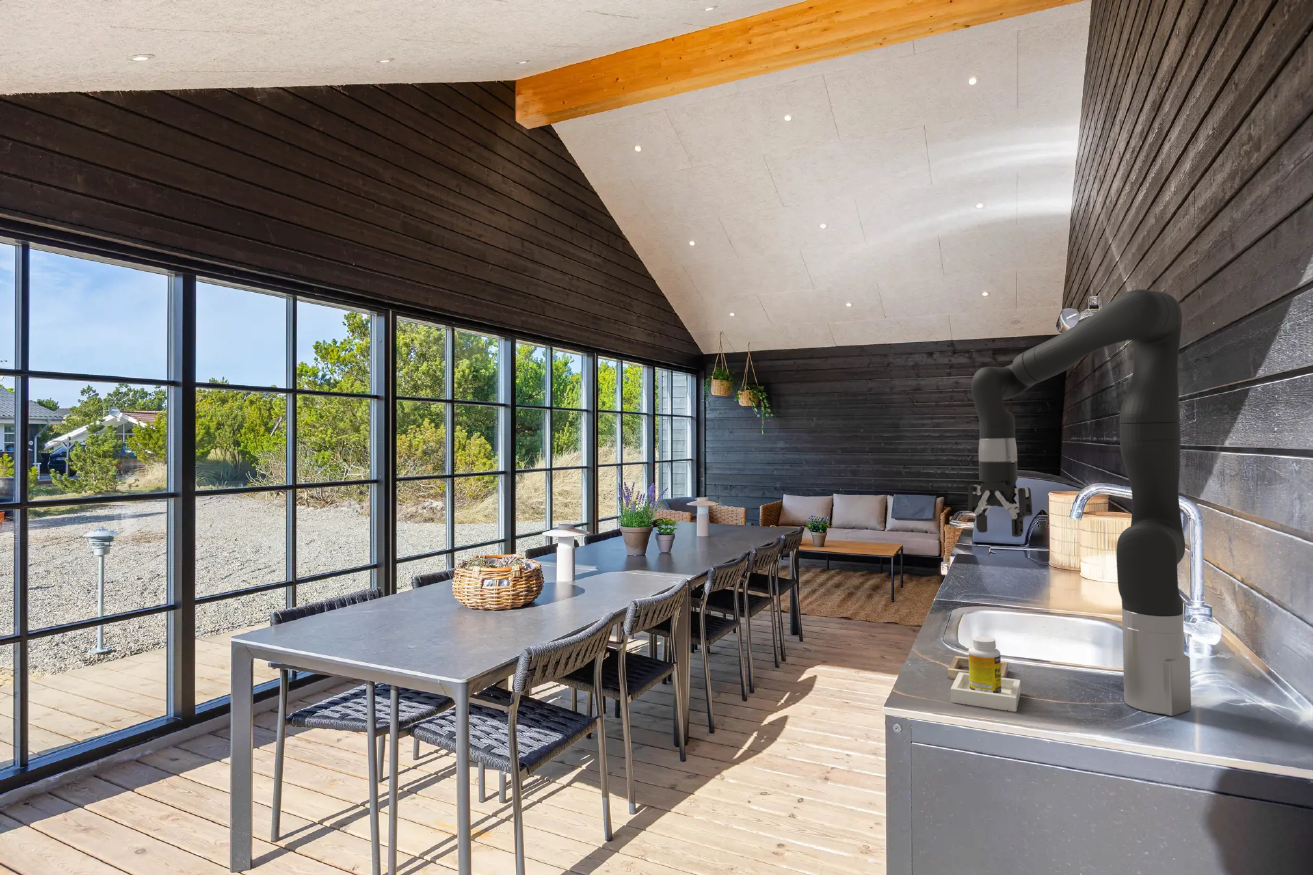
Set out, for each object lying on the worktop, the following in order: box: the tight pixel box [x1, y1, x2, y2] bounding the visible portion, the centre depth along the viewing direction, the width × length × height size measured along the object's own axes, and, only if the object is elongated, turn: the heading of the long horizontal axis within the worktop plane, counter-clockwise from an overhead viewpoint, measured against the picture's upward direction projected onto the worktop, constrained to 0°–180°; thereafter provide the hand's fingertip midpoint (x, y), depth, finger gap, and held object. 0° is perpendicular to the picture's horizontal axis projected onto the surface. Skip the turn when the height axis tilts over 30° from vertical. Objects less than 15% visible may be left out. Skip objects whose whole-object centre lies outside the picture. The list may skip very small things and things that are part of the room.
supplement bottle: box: [968, 635, 1002, 694], centre depth 140 cm, size 6×6×10 cm
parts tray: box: [950, 672, 1022, 713], centre depth 140 cm, size 11×11×2 cm
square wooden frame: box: [947, 655, 1009, 680], centre depth 153 cm, size 10×10×2 cm
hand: (999, 534), depth 160 cm, fingers open, 8 cm apart
